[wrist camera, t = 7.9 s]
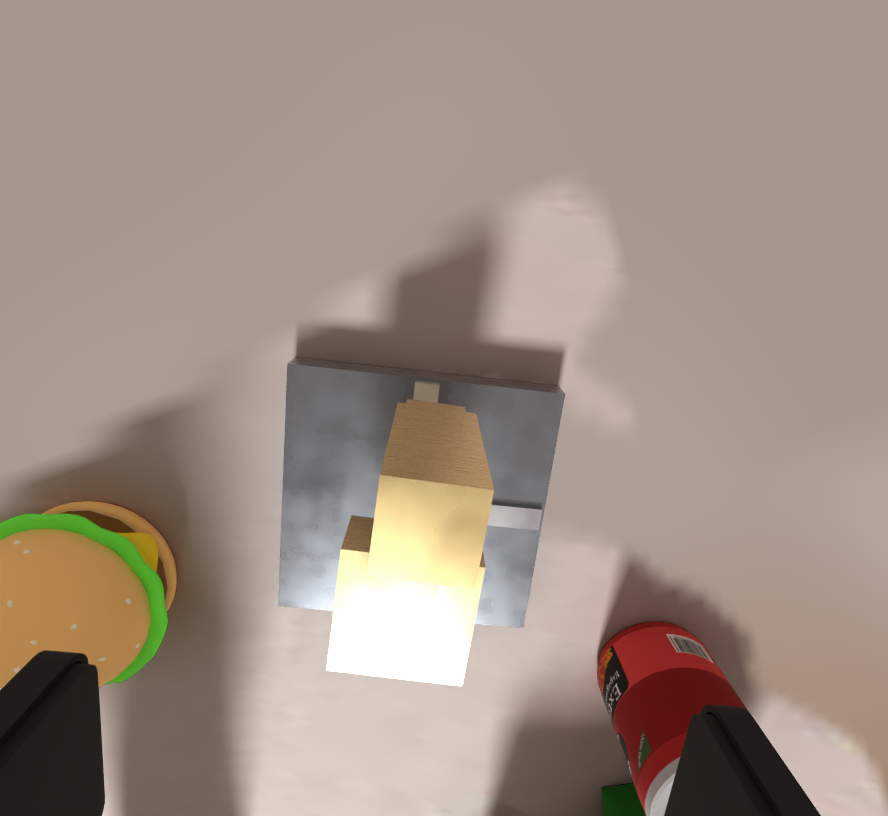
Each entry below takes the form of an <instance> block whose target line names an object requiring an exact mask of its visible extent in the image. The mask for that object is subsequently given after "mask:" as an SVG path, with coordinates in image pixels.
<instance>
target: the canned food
mask: <svg viewBox="0 0 888 816" xmlns="http://www.w3.org/2000/svg"><path fill="white" fill-rule="evenodd" d="M597 678H598V685H599V688H600V691H601V694H602V696H603V699H604V702H605V705H606V708H607V710H608V713H609V716H610V719H611V721H612V724H613V727H614V730H615V733H616V735H617V738H618V741H619V744H620V746H621V749H622V752H623V755H624V758H625V760H626V763H627V766H628V769H629V771H630V774H631V777H632V780H633V783H634V785H635V788H636V791H637V794H638V796H639V799H640V802H641V804H642V807H643V809H644V812H645V814H646V816H664V813H665V810H666V806H667V803H668V799H669V796H670V792H671V788H672V785H673V781H674V778H675V774H676V770H677V767H678V763H679V760H680V756H681V753H682V749H683V745H684V742H685V738H686V735H687V731H688V727H689V724H690V720H691V718H692V716H693V715H694V714H700V712H701V710H702V708H703V707H704V706H705V705H722V706H734V707H742V708H744V709H746V707H745V706H744V704H743V703H742V701H741V700H740V698H739V697H738V695H737V694H736V692H735V691H734V689H733V688H732V686H731V685H730V683H729V682H728V680H727V679H726V677H725V676H724V674H723V673H722V672H721V670H720V669H719V667H718V666H717V664H716V663H715V661H714V660H713V658H712V657H711V655H710V654H709V652H708V651H707V649H706V648H705V646H704V645H703V644H702V643H701V642H700V641H699V640H698V639H697V638H696V637H695V636H694V635H692V634H691V633H689V632H688V631H686V630H685V629H683V628H682V627H679V626H677V625H674V624H671V623H665V622H647V623H640V624H637V625H634V626H631V627H629V628H627V629H625V630H623V631H621V632H620V633H618V634H617V635H615V636H614V637H613V638H612V639H611V640H610V641H609V642H608V643H607V644H606V646H605V647H604V649H603V650H602V652H601V655H600V657H599V661H598V669H597ZM746 710H747V709H746ZM747 711H748V710H747Z"/></svg>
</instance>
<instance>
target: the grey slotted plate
mask: <svg viewBox="0 0 888 816" xmlns="http://www.w3.org/2000/svg"><path fill="white" fill-rule="evenodd" d="M564 397H565V393H564V392H563V391H562V390H561V389H560V387H559V386H557V385H547V384H538V383H529V382H520V381H511V380H501V379H492V378H483V377H474V376H465V375H456V374H446V373H437V372H428V371H419V370H410V369H400V368H391V367H382V366H373V365H364V364H355V363H345V362H336V361H327V360H318V359H309V358H299V357H296V358H294V359H293V360H292V361H290V362H289V363H288V365H287V391H286V417H285V444H284V470H283V496H282V522H281V548H280V575H279V601H278V606H284V607H295V608H307V609H318V610H329V611H334V602H335V593H336V585H337V576H338V568H339V559H340V550H341V546H342V543H343V540H344V537H345V534H346V531H347V527H348V524H349V521H350V518H351V515H354V516H361V517H369V518H374V515H375V508H376V500H377V493H378V485H379V477H380V472H381V468H382V464H383V460H384V456H385V452H386V448H387V444H388V440H389V436H390V432H391V428H392V424H393V420H394V416H395V412H396V408H397V404H398V402H399V403H406V402H407V399H413V400H420V401H427V402H434V403H441V404H448V405H455V406H462V407H465V411H466V412H469V413H475V414H476V415H477V419H478V424H479V428H480V432H481V436H482V441H483V445H484V449H485V454H486V458H487V462H488V466H489V471H490V475H491V479H492V483H493V488H494V494H493V499H492V504H491V509H490V514H489V520H488V525H487V530H486V535H485V540H484V545H483V554H484V561H485V567H486V568H485V573H484V578H483V583H482V588H481V593H480V599H479V604H478V609H477V614H476V619H475V624H485V625H496V626H507V627H518V628H523V626H524V620H525V615H526V609H527V604H528V598H529V592H530V587H531V581H532V576H533V570H534V565H535V559H536V553H537V548H538V542H539V537H540V531H541V525H542V520H543V514H544V508H545V503H546V497H547V491H548V486H549V481H550V475H551V469H552V464H553V458H554V453H555V447H556V442H557V436H558V430H559V425H560V419H561V414H562V408H563V403H564Z"/></svg>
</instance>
